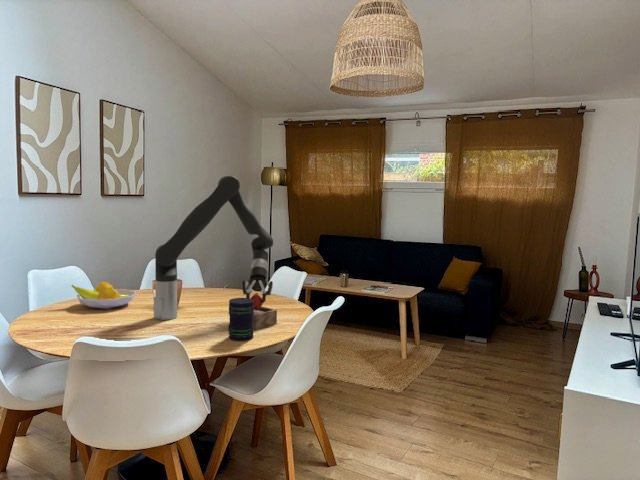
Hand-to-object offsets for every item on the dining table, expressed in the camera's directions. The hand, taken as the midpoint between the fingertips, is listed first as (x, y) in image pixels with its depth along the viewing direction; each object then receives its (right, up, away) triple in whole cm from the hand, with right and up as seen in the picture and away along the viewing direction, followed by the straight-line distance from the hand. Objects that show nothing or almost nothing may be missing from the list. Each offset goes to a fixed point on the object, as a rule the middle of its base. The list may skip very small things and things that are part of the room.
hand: (255, 301), depth 200 cm
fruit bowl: (-79, -6, +28) cm, 84 cm away
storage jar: (-3, -12, -18) cm, 22 cm away
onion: (0, -4, +2) cm, 5 cm away
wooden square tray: (0, -10, +3) cm, 11 cm away
